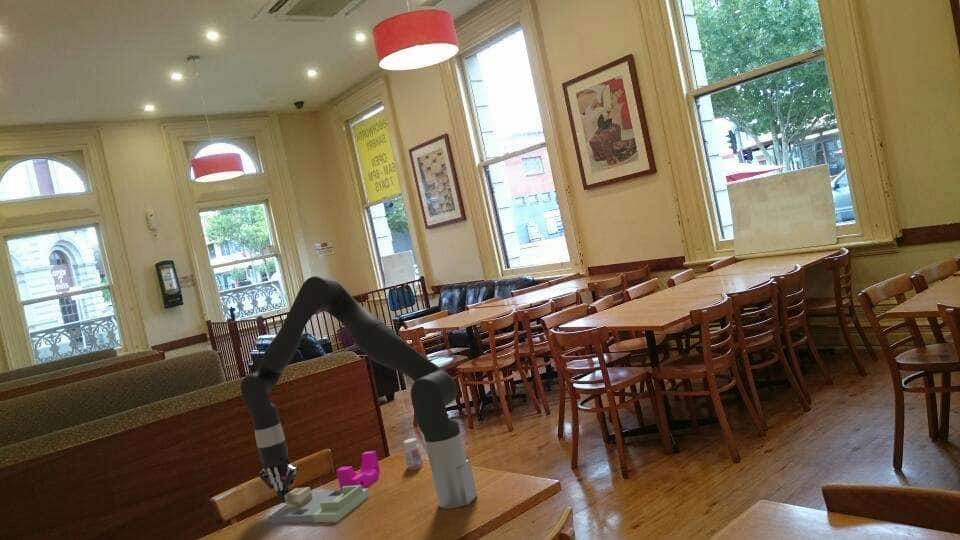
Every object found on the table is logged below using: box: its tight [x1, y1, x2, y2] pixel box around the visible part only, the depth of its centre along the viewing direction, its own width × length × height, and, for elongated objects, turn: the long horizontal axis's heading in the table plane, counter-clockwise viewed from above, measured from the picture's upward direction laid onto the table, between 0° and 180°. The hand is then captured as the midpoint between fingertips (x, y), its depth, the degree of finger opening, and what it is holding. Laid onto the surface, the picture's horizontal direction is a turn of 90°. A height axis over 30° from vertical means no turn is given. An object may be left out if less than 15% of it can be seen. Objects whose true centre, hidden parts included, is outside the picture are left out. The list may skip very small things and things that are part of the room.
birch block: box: [284, 486, 312, 508], centre depth 186 cm, size 5×5×4 cm
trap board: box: [267, 485, 371, 524], centre depth 184 cm, size 22×16×4 cm
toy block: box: [336, 450, 381, 490], centre depth 200 cm, size 15×6×8 cm, turn 156°
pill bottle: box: [403, 437, 424, 470], centre depth 205 cm, size 5×5×8 cm
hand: (285, 501), depth 188 cm, fingers closed
